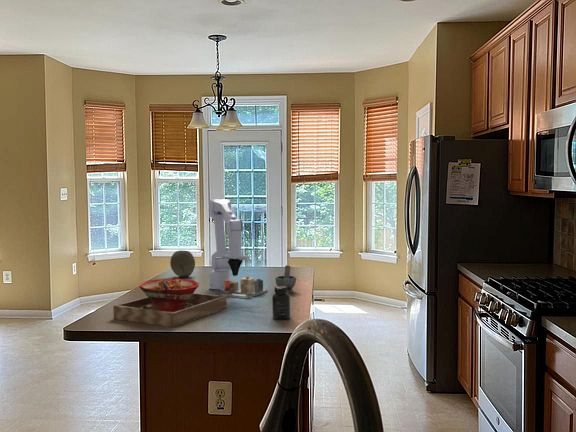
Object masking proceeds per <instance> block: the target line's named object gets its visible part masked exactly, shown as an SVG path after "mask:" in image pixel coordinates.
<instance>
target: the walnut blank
mask: <svg viewBox="0 0 576 432" xmlns="http://www.w3.org/2000/svg"><path fill="white" fill-rule="evenodd" d="M230 290H232V293H233V294H234V292H235V291H238V290H239V281H237V280H233V281H232V280H231V281H230Z"/></svg>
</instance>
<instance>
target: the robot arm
mask: <svg viewBox="0 0 576 432" xmlns="http://www.w3.org/2000/svg"><path fill="white" fill-rule="evenodd" d="M208 207H209V216H210V218H213V219H212V220H213V222H214V237H215V247H216V248H215V249H216V251H215V252H214V253H212V255H211V260H210V265H211V269H212V270H211V271H210V273H209V287H208V289H209V290H219V291H221V290H225V280H231V279H230V276H231V275H230V271H231V274H232V276H233V277H236V276H238V275H239V271H240V268H241V265H242V263H243V261H250V260H251V259H250V256H251V255H243V254H242V232H243V229H244V228H243V227H244V226H243V225H244V224H243V220H242V219H241V218H238V216H237V215H236V213H235V212H234V211H233V210H231V209H232V201H231V200H230V199H229V198H226V199H223V198H222V199H212V198H211V199H210V201H209V206H208ZM225 224H226V225H225ZM225 226H226V233H227V236H228V242H227V243H228V250H227V245H226V233H225Z"/></svg>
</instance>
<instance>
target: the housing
mask: <svg viewBox="0 0 576 432" xmlns="http://www.w3.org/2000/svg"><path fill="white" fill-rule="evenodd" d="M239 281H240V283H239V284H240V290H241V291H252V290H255V281H256V280H255V278H254V277H250V276H245V277H243V278H242V277H241V278H240V280H239Z"/></svg>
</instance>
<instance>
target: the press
mask: <svg viewBox="0 0 576 432" xmlns="http://www.w3.org/2000/svg"><path fill="white" fill-rule="evenodd" d="M249 292H251V294H252V297H258V296H260V295H263V294H265V293H268V289H267V288H264V280H263V279H262V278H256V280H255V290H252V291H241V289H238V291H235V292H234V293H233V294H243V295H246V293H249Z"/></svg>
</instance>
